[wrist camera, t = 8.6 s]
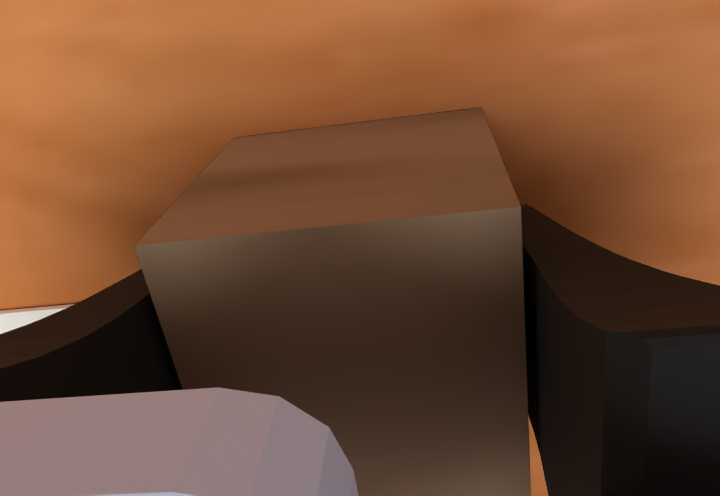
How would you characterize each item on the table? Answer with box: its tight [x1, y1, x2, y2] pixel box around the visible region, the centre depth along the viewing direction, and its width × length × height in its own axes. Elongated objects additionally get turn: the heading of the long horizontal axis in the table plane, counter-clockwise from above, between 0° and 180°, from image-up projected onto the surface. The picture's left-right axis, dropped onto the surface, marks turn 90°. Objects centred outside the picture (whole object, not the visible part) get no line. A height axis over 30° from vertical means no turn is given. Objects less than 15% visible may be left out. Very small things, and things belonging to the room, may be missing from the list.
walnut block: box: [134, 108, 531, 496], centre depth 11 cm, size 5×5×5 cm
